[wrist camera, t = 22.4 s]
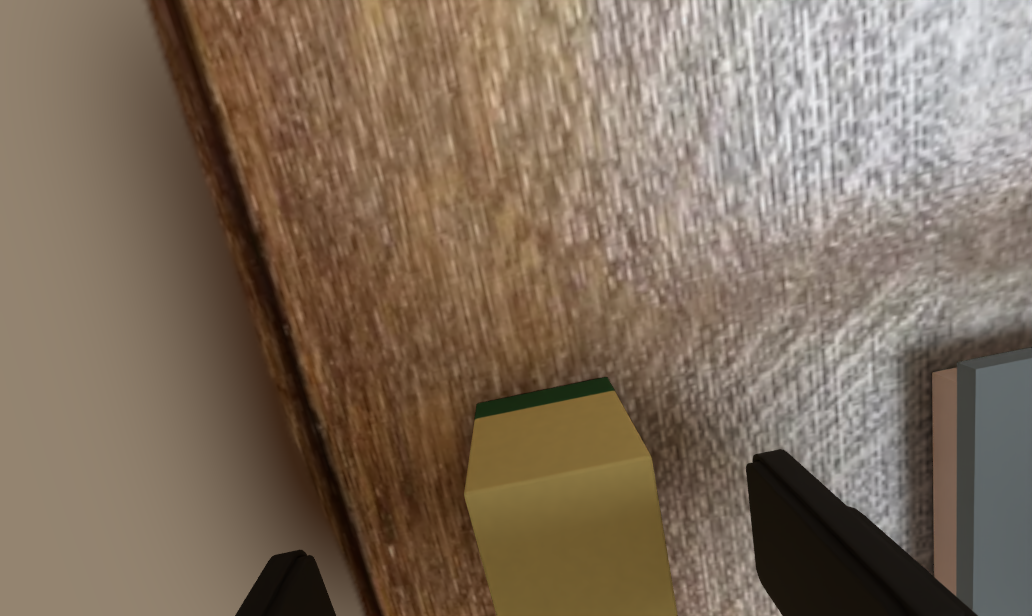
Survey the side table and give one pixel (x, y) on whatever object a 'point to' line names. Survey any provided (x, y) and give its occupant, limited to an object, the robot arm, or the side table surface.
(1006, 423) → the desk lamp
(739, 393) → the side table surface
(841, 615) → the robot arm
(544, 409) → the sponge
